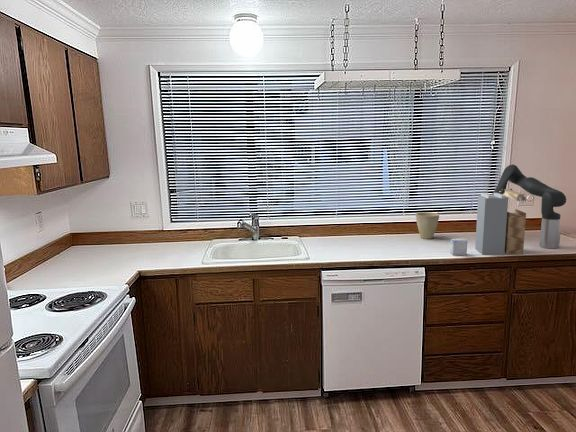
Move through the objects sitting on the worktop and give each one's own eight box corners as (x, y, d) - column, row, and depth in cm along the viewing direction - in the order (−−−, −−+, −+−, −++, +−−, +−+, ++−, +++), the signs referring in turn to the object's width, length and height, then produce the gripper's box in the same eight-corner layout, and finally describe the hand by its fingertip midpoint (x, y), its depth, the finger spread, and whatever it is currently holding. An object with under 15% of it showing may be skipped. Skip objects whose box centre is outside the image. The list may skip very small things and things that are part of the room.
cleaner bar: (507, 194, 256) (508, 189, 256) (527, 201, 231) (527, 195, 230) (501, 194, 257) (502, 189, 256) (520, 201, 231) (520, 195, 231)
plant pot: (443, 239, 281) (444, 215, 278) (422, 241, 278) (423, 216, 275) (430, 234, 295) (431, 211, 292) (410, 236, 292) (411, 212, 289)
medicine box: (463, 253, 248) (464, 238, 246) (466, 255, 243) (467, 240, 242) (449, 253, 248) (450, 238, 246) (452, 255, 243) (453, 240, 242)
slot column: (496, 249, 254) (500, 192, 248) (504, 254, 243) (508, 195, 237) (475, 248, 256) (478, 192, 250) (482, 254, 244) (485, 195, 238)
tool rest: (513, 248, 255) (516, 209, 251) (522, 254, 243) (526, 213, 238) (497, 248, 256) (500, 209, 252) (506, 254, 244) (509, 213, 239)
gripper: (484, 195, 270) (494, 184, 254) (508, 195, 269) (519, 184, 252) (486, 206, 268) (496, 196, 252) (510, 206, 266) (521, 196, 250)
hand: (507, 190), depth 252 cm, fingers closed on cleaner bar, 3 cm apart
